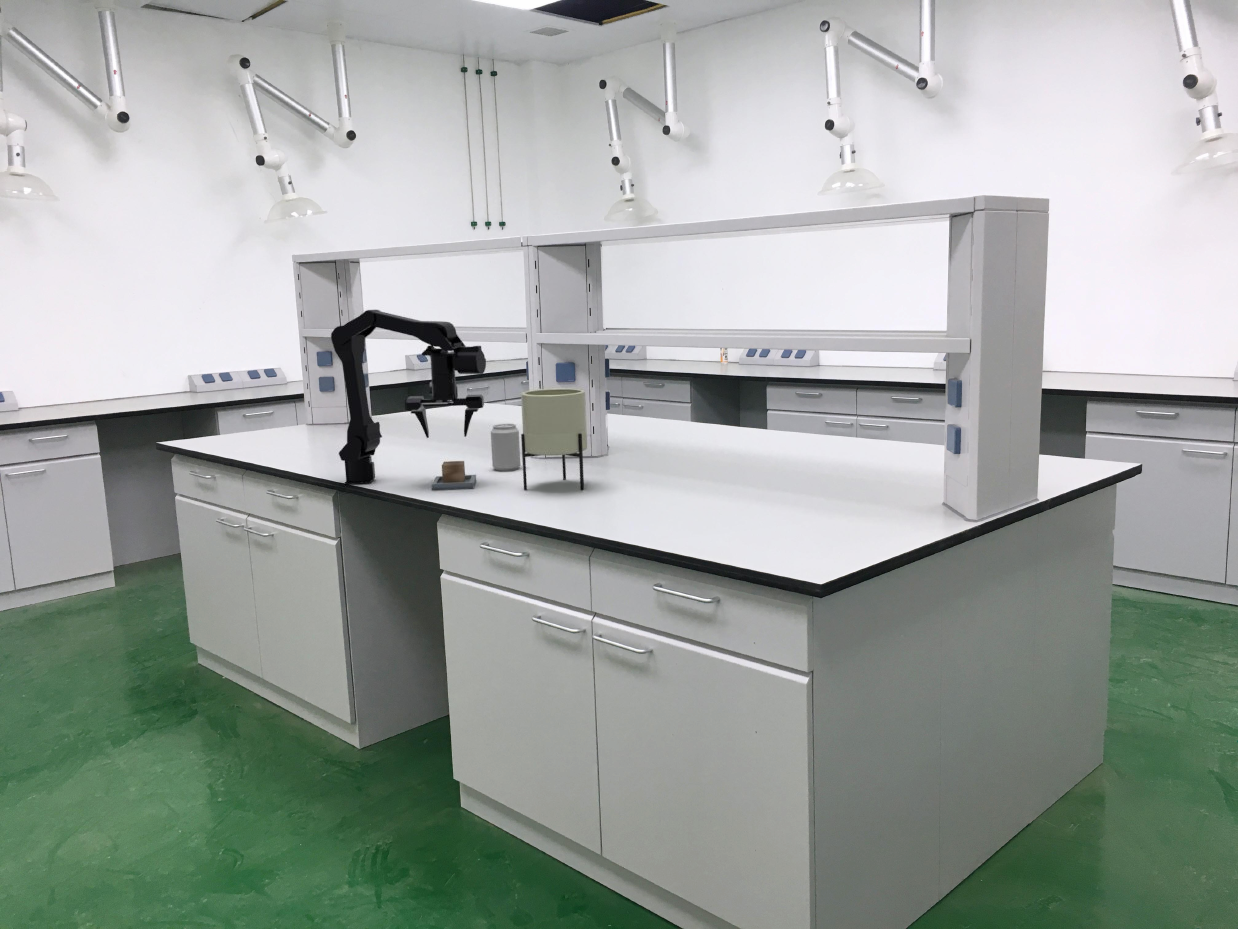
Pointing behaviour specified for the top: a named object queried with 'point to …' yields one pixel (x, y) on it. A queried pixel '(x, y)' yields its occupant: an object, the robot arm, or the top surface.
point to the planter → (554, 425)
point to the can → (505, 447)
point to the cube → (453, 471)
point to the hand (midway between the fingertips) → (446, 437)
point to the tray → (468, 483)
